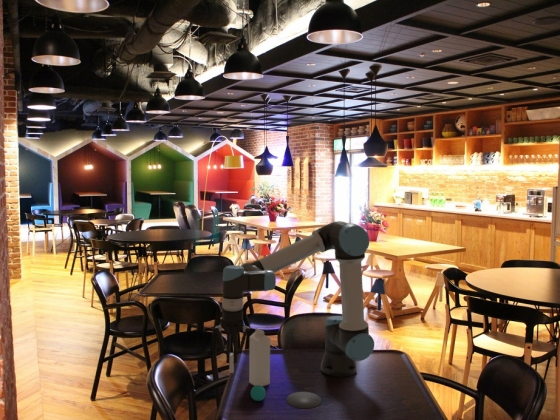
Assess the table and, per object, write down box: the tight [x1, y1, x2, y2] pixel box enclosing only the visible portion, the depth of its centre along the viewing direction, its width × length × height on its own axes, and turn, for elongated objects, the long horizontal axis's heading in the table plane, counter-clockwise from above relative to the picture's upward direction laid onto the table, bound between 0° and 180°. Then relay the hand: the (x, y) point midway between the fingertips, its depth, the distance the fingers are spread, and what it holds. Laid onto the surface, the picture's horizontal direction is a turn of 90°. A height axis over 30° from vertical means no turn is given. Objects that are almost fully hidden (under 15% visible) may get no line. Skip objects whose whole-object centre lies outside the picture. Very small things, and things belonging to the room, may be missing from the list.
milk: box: [248, 327, 271, 387], centre depth 196 cm, size 6×6×22 cm
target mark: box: [286, 391, 322, 409], centre depth 183 cm, size 13×13×1 cm
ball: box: [250, 385, 267, 402], centre depth 182 cm, size 6×6×6 cm
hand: (231, 371), depth 181 cm, fingers closed
